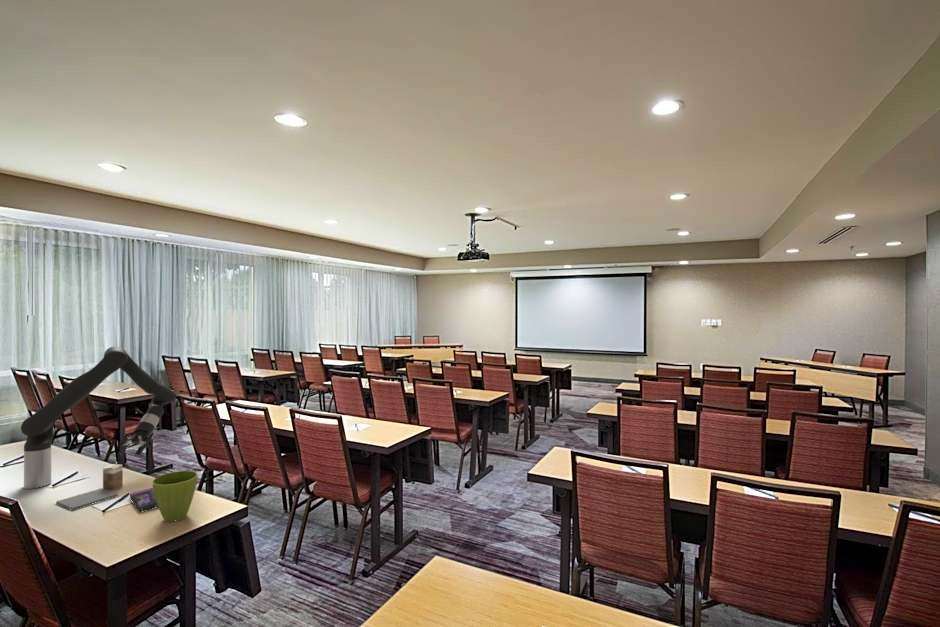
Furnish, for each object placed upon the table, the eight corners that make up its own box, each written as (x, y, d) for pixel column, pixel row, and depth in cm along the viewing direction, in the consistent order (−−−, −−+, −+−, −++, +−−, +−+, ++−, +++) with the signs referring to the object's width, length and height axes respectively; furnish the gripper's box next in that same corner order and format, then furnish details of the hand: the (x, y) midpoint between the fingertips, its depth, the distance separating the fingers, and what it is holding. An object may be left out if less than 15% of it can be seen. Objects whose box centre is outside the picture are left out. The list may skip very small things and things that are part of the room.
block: (102, 489, 204) (103, 468, 204) (112, 485, 209) (112, 464, 209) (113, 490, 204) (113, 468, 204) (122, 485, 209) (122, 464, 209)
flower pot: (201, 518, 176) (201, 478, 176) (155, 530, 166) (155, 487, 166) (193, 506, 187) (193, 468, 187) (150, 517, 177) (150, 476, 177)
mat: (56, 503, 189) (56, 501, 189) (101, 490, 204) (101, 488, 204) (72, 510, 183) (72, 508, 183) (117, 496, 197) (117, 494, 197)
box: (129, 501, 195) (138, 514, 181) (129, 493, 195) (138, 505, 181) (167, 491, 205) (178, 503, 191) (167, 483, 205) (178, 495, 191)
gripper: (129, 420, 225) (109, 450, 213) (156, 421, 224) (138, 451, 213) (138, 428, 230) (119, 458, 219) (164, 429, 229) (147, 458, 218)
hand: (128, 454), depth 216 cm, fingers open, 8 cm apart
